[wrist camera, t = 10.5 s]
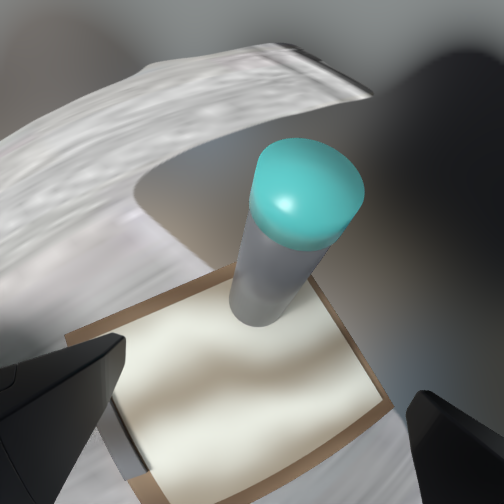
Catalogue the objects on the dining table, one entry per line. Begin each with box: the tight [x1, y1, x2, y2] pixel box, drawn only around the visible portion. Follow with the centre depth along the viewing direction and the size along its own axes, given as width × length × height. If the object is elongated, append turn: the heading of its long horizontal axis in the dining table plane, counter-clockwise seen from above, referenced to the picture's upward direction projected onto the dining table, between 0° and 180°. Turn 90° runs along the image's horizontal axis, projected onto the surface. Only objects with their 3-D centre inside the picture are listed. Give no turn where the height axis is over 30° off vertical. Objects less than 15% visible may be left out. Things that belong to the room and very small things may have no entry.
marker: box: [229, 138, 364, 327], centre depth 17 cm, size 4×4×13 cm
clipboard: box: [64, 262, 394, 504], centre depth 20 cm, size 16×19×1 cm
